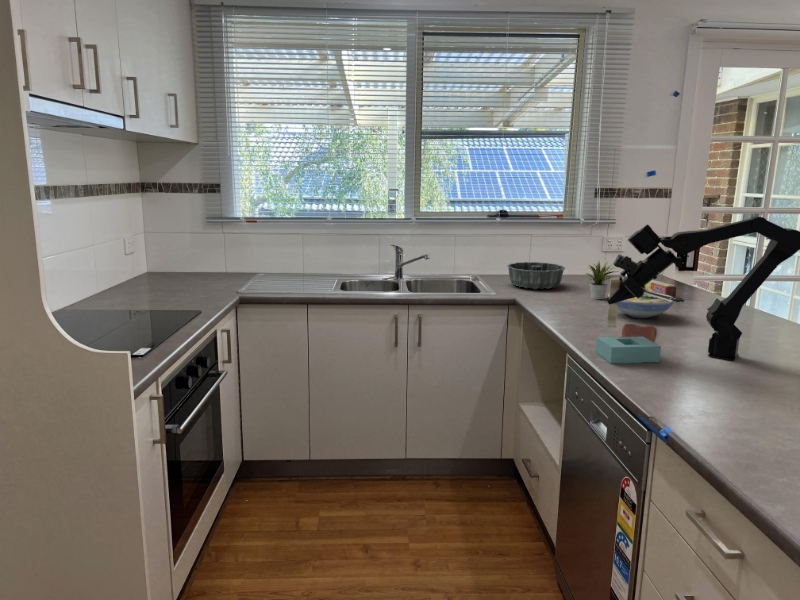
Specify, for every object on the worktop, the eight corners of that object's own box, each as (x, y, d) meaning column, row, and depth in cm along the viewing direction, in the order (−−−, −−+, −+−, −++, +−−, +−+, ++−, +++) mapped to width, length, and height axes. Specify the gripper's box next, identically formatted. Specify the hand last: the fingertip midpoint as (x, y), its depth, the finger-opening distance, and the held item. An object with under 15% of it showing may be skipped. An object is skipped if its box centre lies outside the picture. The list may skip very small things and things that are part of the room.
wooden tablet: (623, 326, 193) (623, 321, 193) (655, 329, 189) (655, 324, 189) (618, 346, 170) (618, 340, 169) (654, 350, 165) (654, 344, 165)
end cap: (595, 352, 161) (596, 337, 160) (641, 351, 162) (642, 336, 161) (610, 363, 151) (611, 347, 150) (659, 362, 152) (660, 346, 151)
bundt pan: (563, 293, 249) (565, 271, 247) (503, 290, 256) (504, 268, 254) (563, 283, 274) (565, 263, 271) (509, 280, 281) (510, 261, 279)
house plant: (603, 304, 226) (607, 263, 223) (573, 298, 236) (576, 260, 233) (621, 299, 236) (624, 260, 232) (591, 294, 246) (594, 257, 242)
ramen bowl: (592, 310, 215) (594, 289, 214) (645, 307, 220) (647, 287, 218) (631, 325, 191) (633, 302, 190) (690, 322, 196) (692, 299, 194)
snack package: (677, 299, 237) (678, 283, 236) (664, 300, 235) (665, 284, 234) (642, 290, 257) (643, 275, 256) (630, 291, 255) (631, 276, 254)
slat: (607, 323, 168) (610, 277, 165) (615, 324, 167) (619, 277, 164) (607, 326, 164) (610, 279, 161) (615, 327, 163) (619, 280, 161)
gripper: (630, 242, 168) (589, 276, 174) (634, 249, 151) (588, 286, 157) (657, 269, 167) (614, 303, 173) (663, 279, 150) (616, 316, 156)
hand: (608, 301), depth 165 cm, fingers closed on slat, 4 cm apart
